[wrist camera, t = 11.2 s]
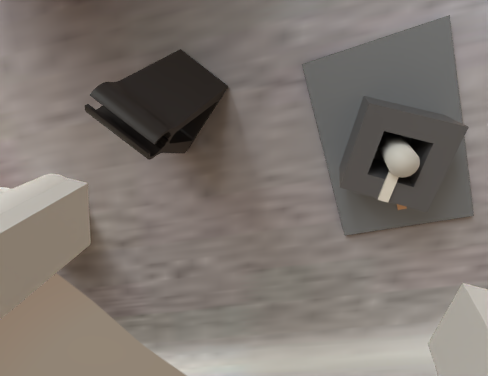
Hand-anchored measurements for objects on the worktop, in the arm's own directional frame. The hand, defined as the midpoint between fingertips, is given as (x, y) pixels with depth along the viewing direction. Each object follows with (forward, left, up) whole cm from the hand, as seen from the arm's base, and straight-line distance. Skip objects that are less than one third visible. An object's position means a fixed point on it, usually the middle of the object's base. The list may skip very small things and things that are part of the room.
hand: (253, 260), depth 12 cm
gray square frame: (+3, +7, -23) cm, 24 cm away
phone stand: (-6, -12, -24) cm, 28 cm away
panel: (+3, +7, -24) cm, 25 cm away
